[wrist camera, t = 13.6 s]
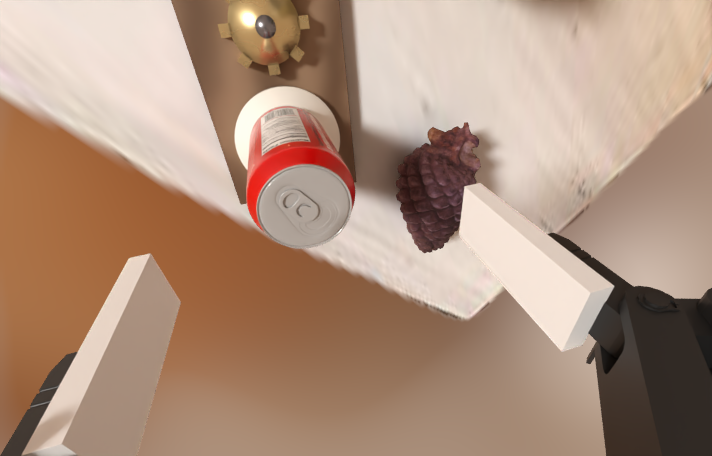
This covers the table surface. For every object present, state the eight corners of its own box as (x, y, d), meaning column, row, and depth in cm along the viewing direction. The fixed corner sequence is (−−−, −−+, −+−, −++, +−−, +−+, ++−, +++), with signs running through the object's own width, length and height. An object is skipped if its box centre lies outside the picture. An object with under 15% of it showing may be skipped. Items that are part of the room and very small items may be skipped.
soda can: (283, 85, 30) (300, 128, 18) (339, 139, 35) (383, 202, 23) (233, 144, 32) (219, 219, 20) (292, 189, 36) (310, 272, 24)
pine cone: (437, 229, 49) (472, 271, 41) (376, 234, 46) (401, 280, 38) (467, 111, 39) (521, 135, 31) (393, 110, 37) (430, 135, 29)
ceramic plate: (331, 78, 32) (333, 79, 31) (343, 176, 38) (344, 179, 37) (220, 93, 30) (219, 95, 29) (251, 194, 36) (251, 197, 36)
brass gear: (299, -32, 27) (304, -39, 23) (313, 67, 31) (319, 73, 28) (205, -25, 25) (198, -31, 22) (234, 78, 30) (231, 84, 26)
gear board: (330, -50, 28) (333, -53, 26) (353, 177, 40) (356, 182, 39) (162, -38, 25) (157, -41, 24) (241, 198, 38) (240, 204, 37)
